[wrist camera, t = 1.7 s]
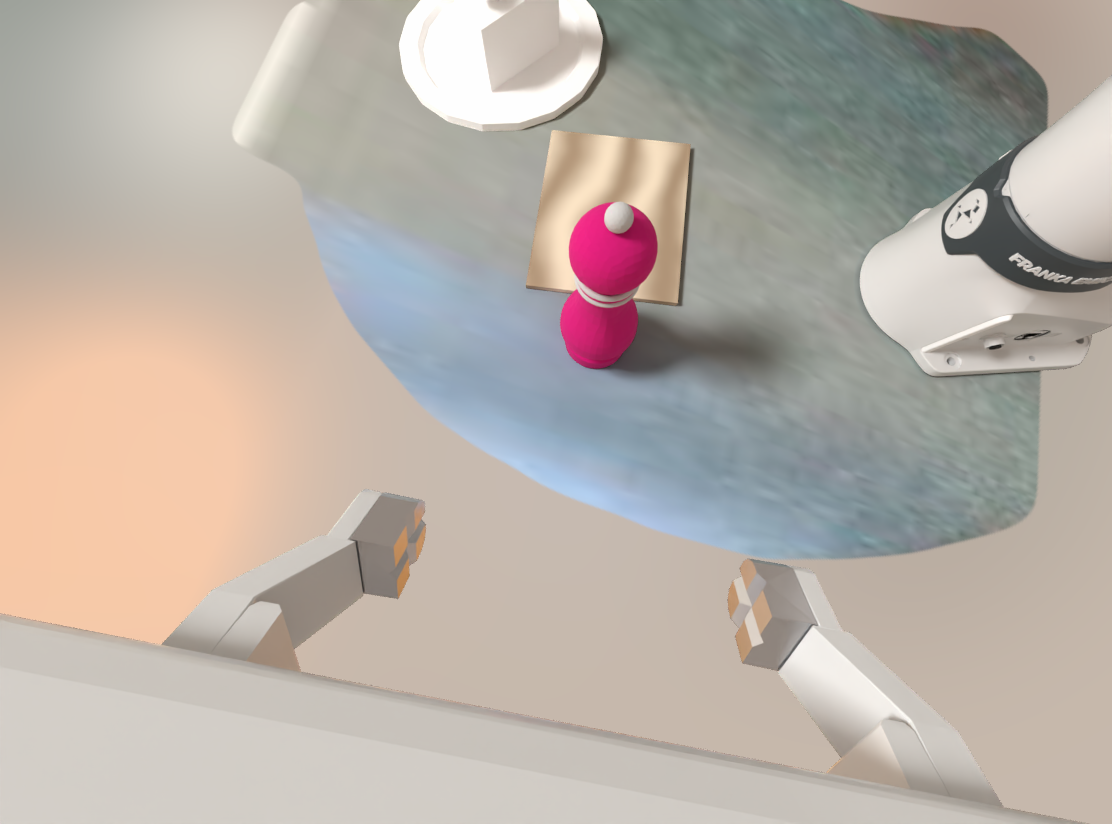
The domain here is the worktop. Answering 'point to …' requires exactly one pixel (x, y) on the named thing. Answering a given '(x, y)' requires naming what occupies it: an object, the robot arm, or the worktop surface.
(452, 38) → the dish
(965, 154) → the worktop surface
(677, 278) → the wooden board
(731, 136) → the worktop surface
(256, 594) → the robot arm
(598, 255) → the pepper mill
